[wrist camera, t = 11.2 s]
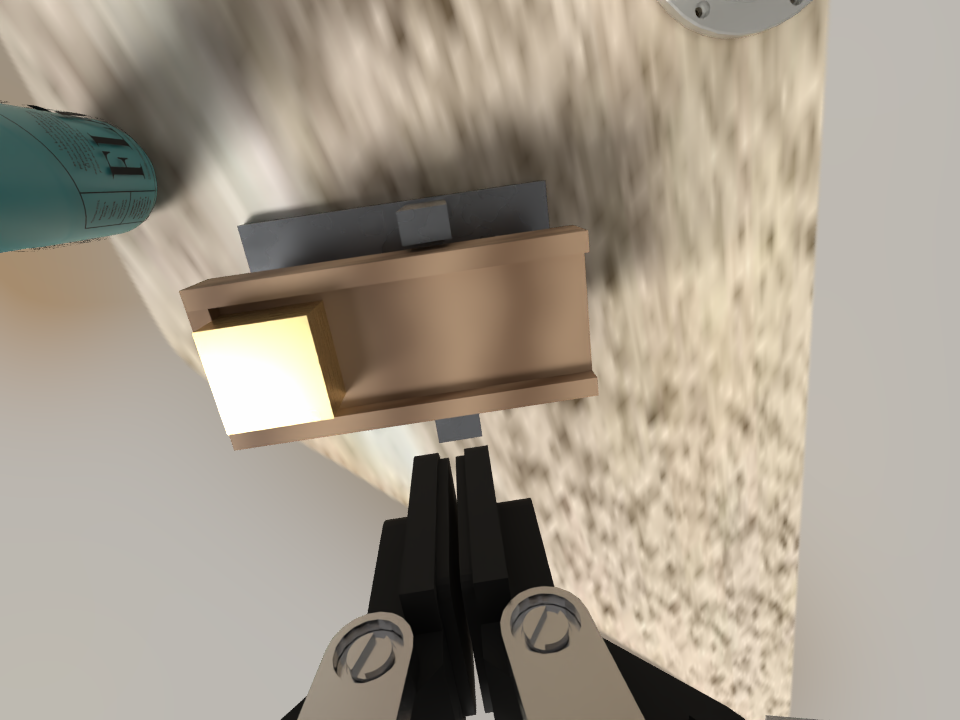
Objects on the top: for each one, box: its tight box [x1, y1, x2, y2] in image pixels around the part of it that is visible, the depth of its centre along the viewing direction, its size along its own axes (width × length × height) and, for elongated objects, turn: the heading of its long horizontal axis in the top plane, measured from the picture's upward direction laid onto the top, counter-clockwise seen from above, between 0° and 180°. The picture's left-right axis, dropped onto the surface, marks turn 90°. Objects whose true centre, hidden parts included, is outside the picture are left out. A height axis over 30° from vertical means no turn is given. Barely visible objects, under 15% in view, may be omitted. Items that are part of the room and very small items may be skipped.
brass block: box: [192, 300, 346, 435], centre depth 24 cm, size 5×5×3 cm
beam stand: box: [237, 180, 549, 443], centre depth 30 cm, size 19×13×9 cm
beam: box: [179, 225, 598, 450], centre depth 26 cm, size 19×8×3 cm, turn 98°
